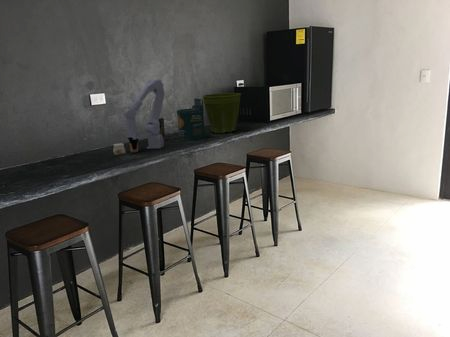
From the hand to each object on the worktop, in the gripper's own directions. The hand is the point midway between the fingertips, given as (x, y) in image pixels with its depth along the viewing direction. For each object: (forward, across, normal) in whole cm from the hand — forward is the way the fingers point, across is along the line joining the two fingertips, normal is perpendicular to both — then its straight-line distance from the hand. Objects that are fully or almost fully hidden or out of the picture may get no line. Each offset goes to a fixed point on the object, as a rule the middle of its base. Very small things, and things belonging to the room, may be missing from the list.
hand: (134, 148), depth 242 cm
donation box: (+2, -20, +44) cm, 48 cm away
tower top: (-1, 0, -9) cm, 9 cm away
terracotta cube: (+1, 0, 0) cm, 1 cm away
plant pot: (+2, -32, +75) cm, 81 cm away
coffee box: (+2, -25, +22) cm, 33 cm away
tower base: (+2, 0, -9) cm, 10 cm away
